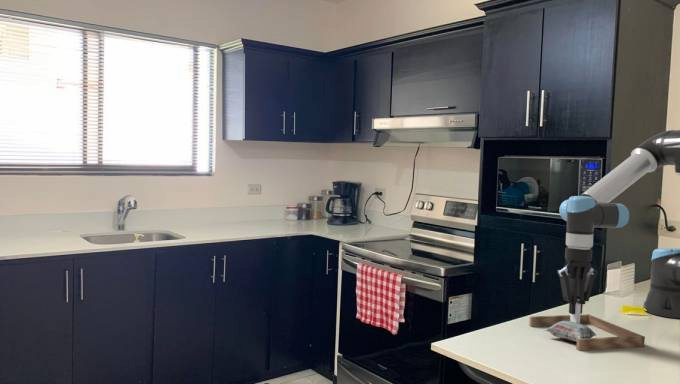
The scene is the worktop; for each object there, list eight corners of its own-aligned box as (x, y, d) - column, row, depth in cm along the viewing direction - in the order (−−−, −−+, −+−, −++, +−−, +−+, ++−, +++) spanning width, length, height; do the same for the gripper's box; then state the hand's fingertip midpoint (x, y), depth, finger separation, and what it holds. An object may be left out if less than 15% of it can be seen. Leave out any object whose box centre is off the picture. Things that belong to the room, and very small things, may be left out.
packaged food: (579, 347, 156) (580, 330, 156) (543, 336, 165) (543, 320, 165) (596, 342, 161) (597, 325, 161) (560, 332, 170) (560, 316, 170)
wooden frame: (587, 323, 183) (588, 314, 182) (644, 346, 159) (644, 336, 159) (529, 325, 177) (529, 316, 177) (578, 350, 154) (579, 339, 154)
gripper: (588, 245, 171) (584, 320, 173) (552, 245, 168) (548, 321, 169) (605, 249, 164) (601, 327, 165) (568, 249, 161) (564, 328, 162)
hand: (574, 324), depth 167 cm, fingers closed
